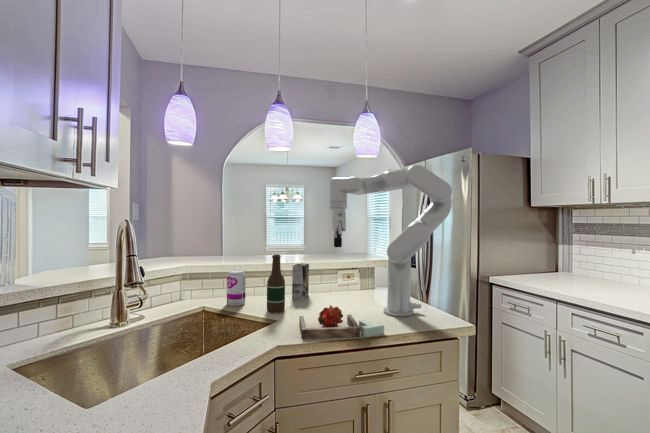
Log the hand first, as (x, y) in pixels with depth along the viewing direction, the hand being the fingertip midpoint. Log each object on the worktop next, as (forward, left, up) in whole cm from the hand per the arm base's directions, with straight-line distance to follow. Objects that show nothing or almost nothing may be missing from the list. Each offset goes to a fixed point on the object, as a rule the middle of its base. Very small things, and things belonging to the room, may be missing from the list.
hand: (337, 246), depth 157 cm
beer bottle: (+27, +3, -27) cm, 38 cm away
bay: (+8, +28, -27) cm, 40 cm away
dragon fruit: (+7, +26, -27) cm, 38 cm away
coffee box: (+15, -20, -27) cm, 37 cm away
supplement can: (+45, -9, -27) cm, 53 cm away
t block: (-6, +32, -27) cm, 42 cm away
